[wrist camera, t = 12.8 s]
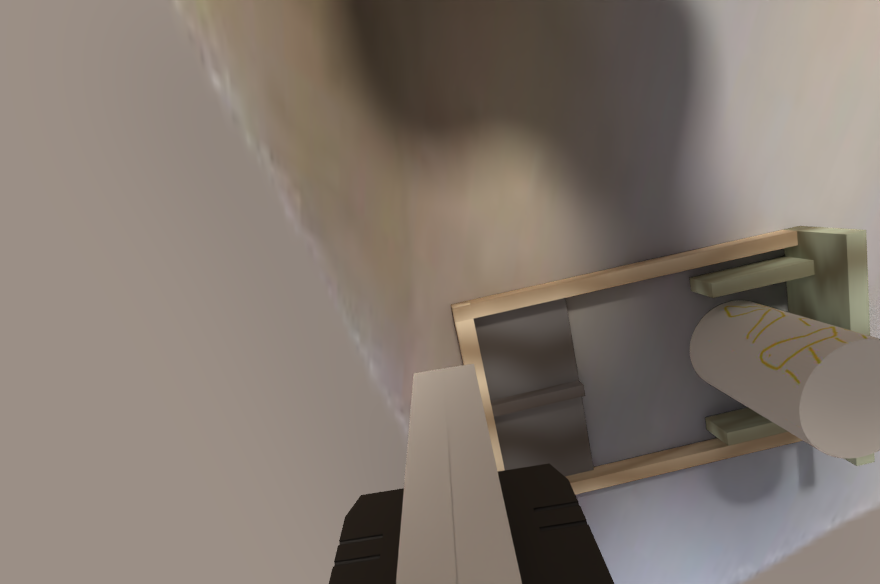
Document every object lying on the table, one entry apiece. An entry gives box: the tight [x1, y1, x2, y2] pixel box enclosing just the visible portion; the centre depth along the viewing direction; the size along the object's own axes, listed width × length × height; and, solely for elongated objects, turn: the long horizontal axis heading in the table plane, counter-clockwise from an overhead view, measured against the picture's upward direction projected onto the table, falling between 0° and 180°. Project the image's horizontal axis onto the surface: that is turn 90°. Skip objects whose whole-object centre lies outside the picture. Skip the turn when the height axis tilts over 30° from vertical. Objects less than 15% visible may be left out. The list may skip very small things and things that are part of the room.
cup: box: [690, 300, 880, 458], centre depth 36 cm, size 8×8×12 cm
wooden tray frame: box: [451, 226, 874, 495], centre depth 39 cm, size 19×30×6 cm, turn 102°
